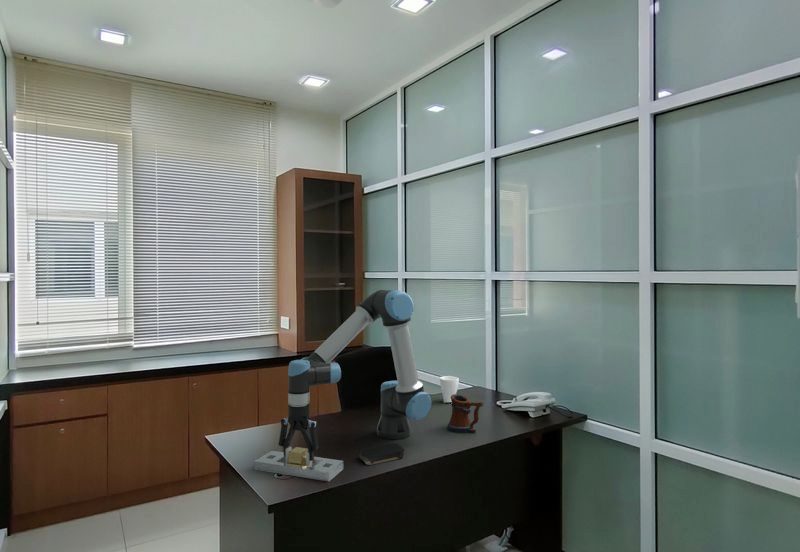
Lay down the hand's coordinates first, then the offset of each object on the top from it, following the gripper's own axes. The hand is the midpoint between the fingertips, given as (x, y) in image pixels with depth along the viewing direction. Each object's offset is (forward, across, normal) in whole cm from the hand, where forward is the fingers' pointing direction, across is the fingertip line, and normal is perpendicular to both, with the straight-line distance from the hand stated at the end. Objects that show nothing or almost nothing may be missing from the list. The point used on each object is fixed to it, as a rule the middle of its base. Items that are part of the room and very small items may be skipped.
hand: (298, 467), depth 172 cm
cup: (+1, -30, -107) cm, 111 cm away
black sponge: (+1, -24, -20) cm, 31 cm away
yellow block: (+1, 0, 0) cm, 1 cm away
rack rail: (+1, 0, 0) cm, 1 cm away
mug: (+1, -48, -63) cm, 79 cm away
